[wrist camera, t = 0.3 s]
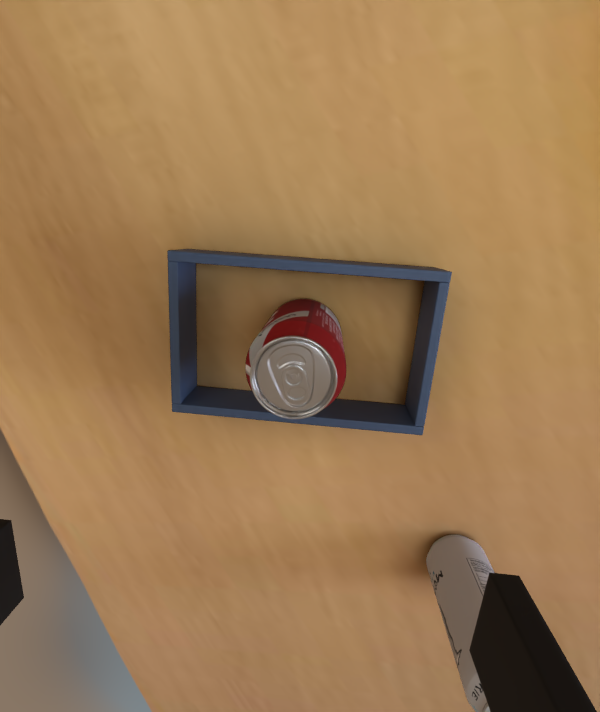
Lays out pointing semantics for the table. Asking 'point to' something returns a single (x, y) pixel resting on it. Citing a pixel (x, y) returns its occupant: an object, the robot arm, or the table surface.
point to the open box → (340, 410)
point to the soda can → (297, 360)
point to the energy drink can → (461, 602)
